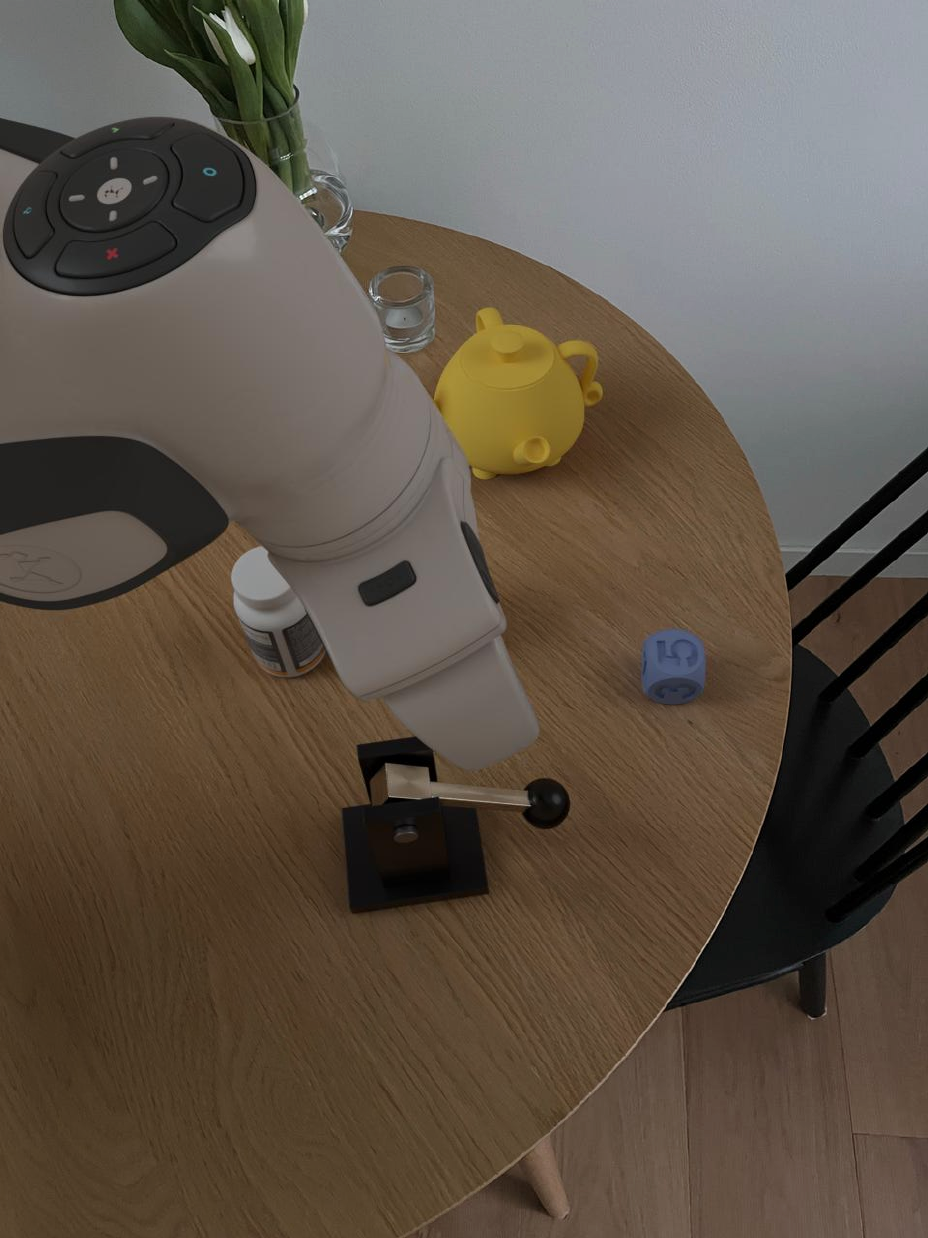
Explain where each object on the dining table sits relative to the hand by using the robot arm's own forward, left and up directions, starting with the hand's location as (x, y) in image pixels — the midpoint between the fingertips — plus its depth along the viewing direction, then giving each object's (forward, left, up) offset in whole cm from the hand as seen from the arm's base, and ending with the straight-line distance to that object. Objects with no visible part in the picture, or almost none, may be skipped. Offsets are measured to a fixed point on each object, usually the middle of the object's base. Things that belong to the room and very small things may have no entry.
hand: (469, 621), depth 54 cm
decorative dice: (+16, +2, -22) cm, 28 cm away
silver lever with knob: (-2, -3, -16) cm, 16 cm away
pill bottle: (-8, +17, -22) cm, 29 cm away
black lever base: (-6, -2, -22) cm, 23 cm away
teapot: (+15, +28, -22) cm, 39 cm away
